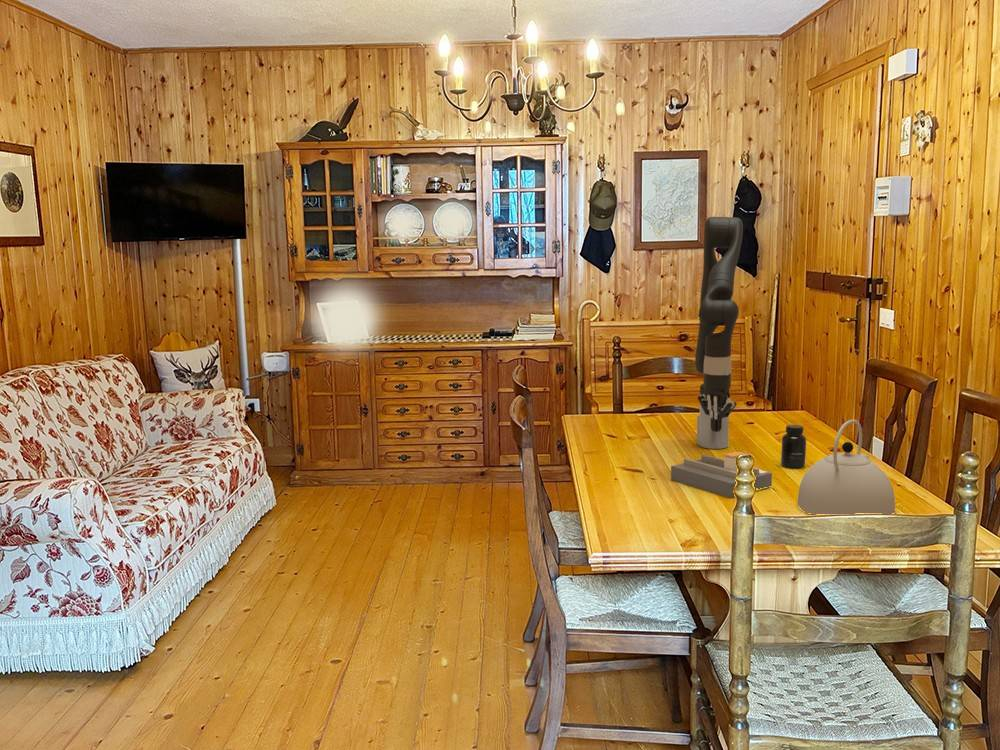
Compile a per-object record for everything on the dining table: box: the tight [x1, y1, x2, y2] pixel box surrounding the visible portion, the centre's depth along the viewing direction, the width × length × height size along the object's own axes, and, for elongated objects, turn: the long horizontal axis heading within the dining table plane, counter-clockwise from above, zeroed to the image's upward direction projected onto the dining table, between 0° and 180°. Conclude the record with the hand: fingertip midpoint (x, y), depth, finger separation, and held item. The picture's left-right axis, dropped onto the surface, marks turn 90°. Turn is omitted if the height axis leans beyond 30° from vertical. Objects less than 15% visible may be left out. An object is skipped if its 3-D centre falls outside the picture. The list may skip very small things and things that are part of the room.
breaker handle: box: [723, 451, 746, 472], centre depth 235 cm, size 3×5×5 cm, turn 124°
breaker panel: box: [670, 453, 773, 499], centre depth 239 cm, size 22×16×6 cm
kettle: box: [797, 419, 896, 516], centre depth 215 cm, size 25×23×23 cm
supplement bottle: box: [780, 424, 807, 469], centre depth 254 cm, size 7×7×12 cm
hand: (716, 431), depth 245 cm, fingers closed
